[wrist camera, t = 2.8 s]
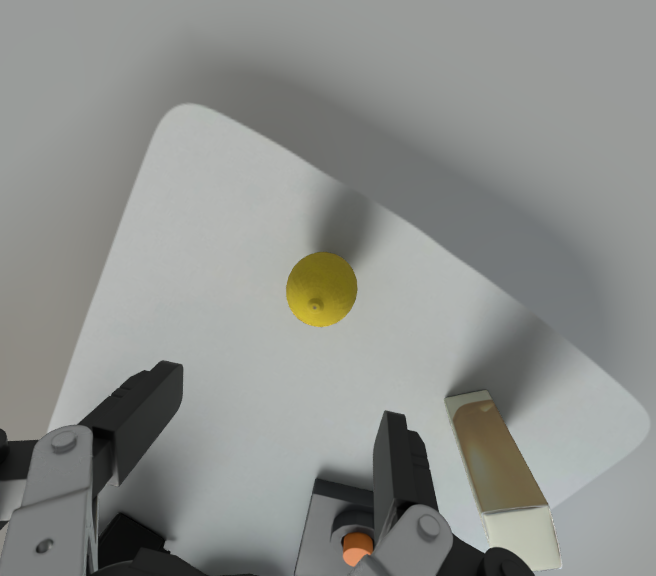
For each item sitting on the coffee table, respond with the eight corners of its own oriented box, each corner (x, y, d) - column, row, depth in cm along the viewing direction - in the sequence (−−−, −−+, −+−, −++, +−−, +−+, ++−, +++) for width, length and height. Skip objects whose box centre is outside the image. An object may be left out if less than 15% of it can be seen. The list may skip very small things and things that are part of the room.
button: (375, 534, 36) (376, 552, 35) (369, 553, 38) (369, 571, 36) (346, 528, 37) (346, 545, 35) (341, 546, 38) (340, 564, 36)
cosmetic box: (499, 436, 34) (566, 573, 23) (456, 444, 35) (499, 579, 23) (487, 385, 32) (553, 506, 21) (441, 395, 33) (480, 516, 22)
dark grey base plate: (417, 501, 38) (422, 533, 35) (381, 594, 45) (382, 627, 41) (315, 478, 39) (310, 507, 36) (294, 572, 45) (288, 604, 42)
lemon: (371, 268, 29) (372, 303, 22) (333, 312, 31) (322, 358, 24) (321, 229, 29) (305, 252, 21) (285, 277, 31) (259, 313, 23)
